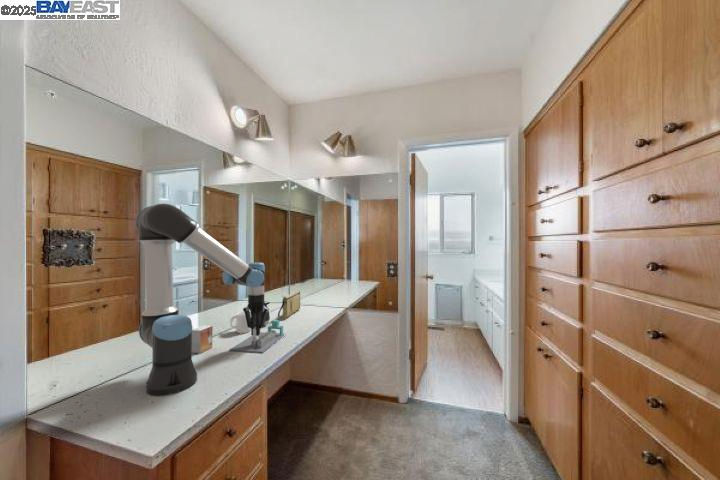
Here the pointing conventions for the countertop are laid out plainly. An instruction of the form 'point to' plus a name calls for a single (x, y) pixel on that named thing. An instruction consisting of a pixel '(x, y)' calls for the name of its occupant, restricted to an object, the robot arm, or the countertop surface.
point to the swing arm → (254, 342)
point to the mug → (240, 323)
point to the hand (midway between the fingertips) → (255, 341)
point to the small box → (201, 338)
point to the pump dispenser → (267, 314)
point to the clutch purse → (290, 304)
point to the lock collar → (275, 326)
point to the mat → (247, 347)
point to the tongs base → (266, 339)
